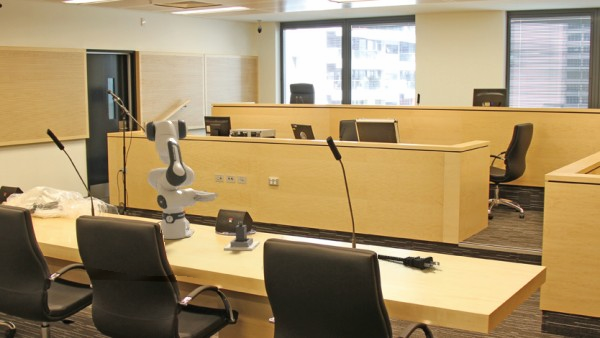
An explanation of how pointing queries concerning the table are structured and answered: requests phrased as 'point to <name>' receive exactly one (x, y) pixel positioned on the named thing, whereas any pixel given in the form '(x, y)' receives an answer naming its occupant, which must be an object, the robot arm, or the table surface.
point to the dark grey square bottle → (241, 233)
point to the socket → (242, 245)
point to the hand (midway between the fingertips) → (211, 193)
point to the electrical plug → (413, 261)
